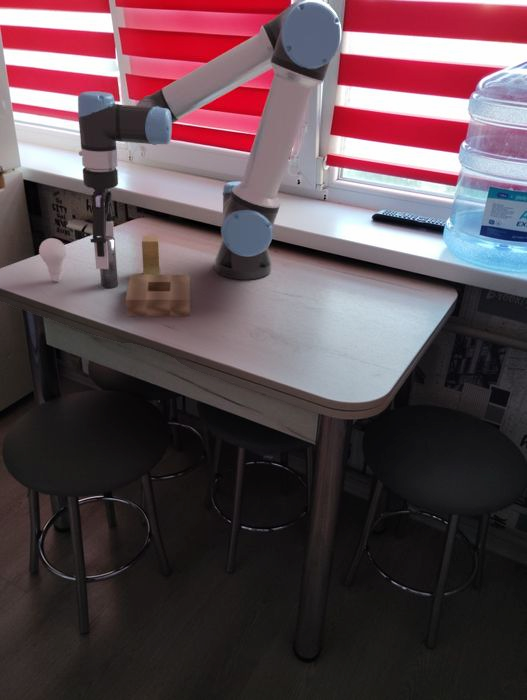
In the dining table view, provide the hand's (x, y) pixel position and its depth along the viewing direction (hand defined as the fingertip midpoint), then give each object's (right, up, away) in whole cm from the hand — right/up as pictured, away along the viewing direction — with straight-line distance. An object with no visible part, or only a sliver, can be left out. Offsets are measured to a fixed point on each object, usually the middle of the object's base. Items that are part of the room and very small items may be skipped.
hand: (105, 257), depth 143 cm
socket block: (+13, -11, -3) cm, 18 cm away
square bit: (+9, -3, +10) cm, 14 cm away
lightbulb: (-13, -6, +4) cm, 15 cm away
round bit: (0, -6, +4) cm, 7 cm away
